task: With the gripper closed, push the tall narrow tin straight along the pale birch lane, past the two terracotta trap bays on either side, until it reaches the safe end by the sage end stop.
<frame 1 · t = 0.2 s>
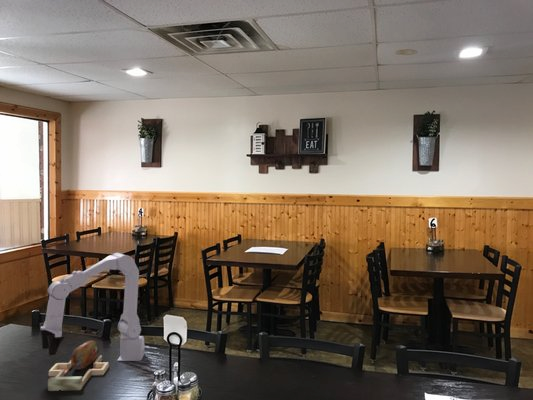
hand: (48, 351, 159), 11 cm above the table, tool pointing down, fingers open, 7 cm apart
tin: (85, 365, 173), on the table
trap bays: (77, 373, 165), on the table
lane: (77, 373, 165), on the table
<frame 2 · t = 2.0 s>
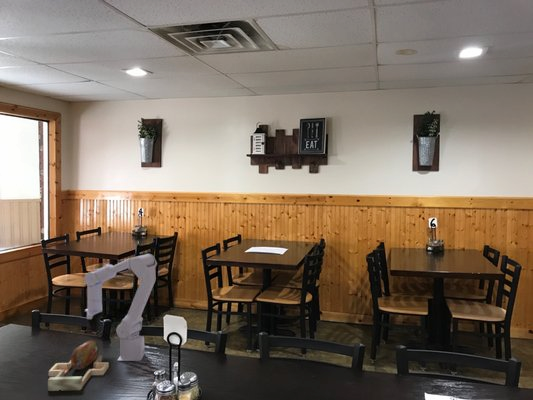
hand: (94, 330, 185), 9 cm above the table, tool pointing down, fingers closed
nothing on the table moved.
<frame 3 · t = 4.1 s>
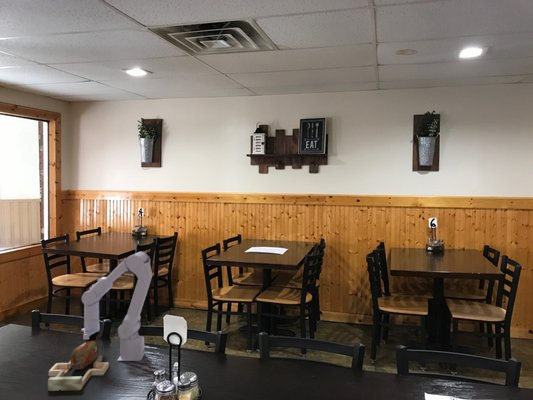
hand: (91, 350, 181), 2 cm above the table, tool pointing down, fingers closed
tin: (84, 365, 173), on the table, touching gripper
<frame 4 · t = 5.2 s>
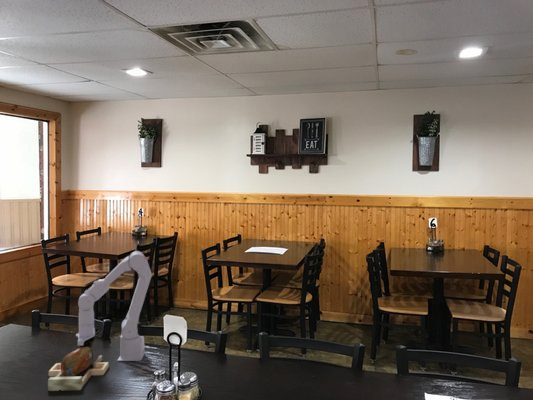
hand: (86, 356, 175), 2 cm above the table, tool pointing down, fingers closed
tin: (77, 372, 166), on the table, touching gripper
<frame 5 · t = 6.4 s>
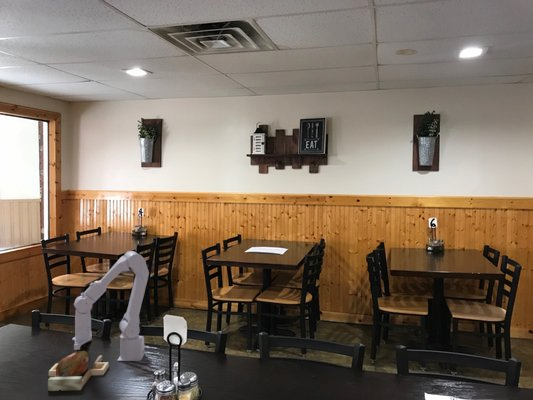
hand: (83, 360, 171), 2 cm above the table, tool pointing down, fingers closed
tin: (73, 376, 162), on the table, touching gripper
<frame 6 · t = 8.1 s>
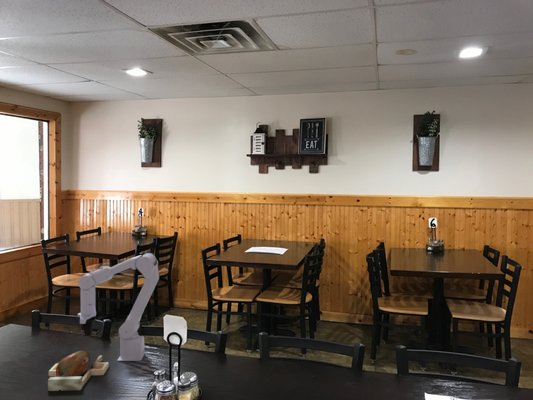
hand: (88, 335, 179), 9 cm above the table, tool pointing down, fingers closed
tin: (73, 377, 162), on the table
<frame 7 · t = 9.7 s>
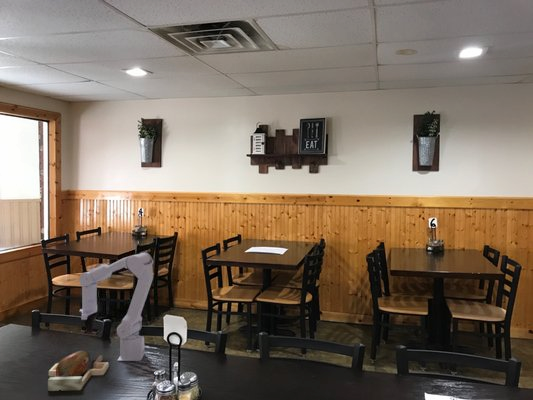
hand: (89, 331, 184), 9 cm above the table, tool pointing down, fingers closed
nothing on the table moved.
at the end: tin inside the target area (1.0 cm from its centre), on the table; tin tilted 0°; tin moved 10.6 cm from its start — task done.
